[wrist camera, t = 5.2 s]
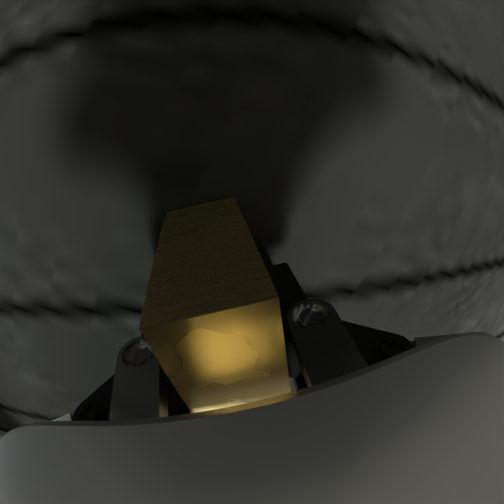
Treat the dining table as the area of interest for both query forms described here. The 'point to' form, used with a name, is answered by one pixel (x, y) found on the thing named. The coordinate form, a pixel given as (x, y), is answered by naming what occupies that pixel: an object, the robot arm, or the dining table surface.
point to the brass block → (214, 310)
